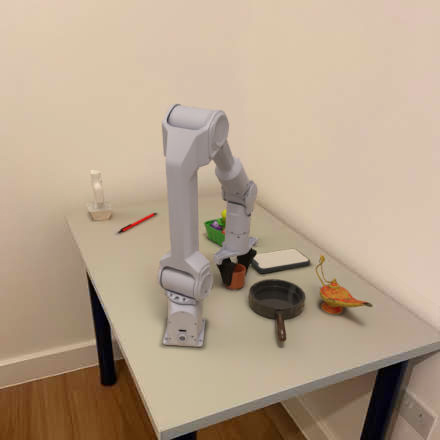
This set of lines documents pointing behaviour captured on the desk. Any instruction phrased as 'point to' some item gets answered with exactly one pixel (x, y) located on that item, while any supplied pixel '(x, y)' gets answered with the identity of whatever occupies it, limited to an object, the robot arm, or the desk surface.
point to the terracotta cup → (238, 277)
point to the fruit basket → (216, 228)
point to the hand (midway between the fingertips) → (234, 279)
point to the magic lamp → (336, 295)
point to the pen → (136, 223)
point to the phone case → (279, 260)
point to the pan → (276, 298)
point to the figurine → (98, 199)
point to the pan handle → (280, 326)
